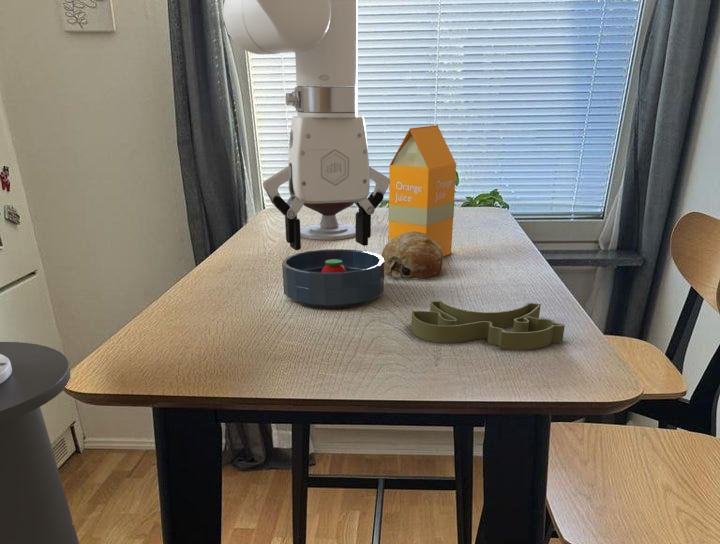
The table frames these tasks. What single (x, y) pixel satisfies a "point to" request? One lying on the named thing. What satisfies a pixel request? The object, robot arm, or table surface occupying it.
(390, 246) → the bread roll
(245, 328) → the table surface
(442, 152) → the orange juice
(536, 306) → the cookie cutter
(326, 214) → the mate gourd
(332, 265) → the red green jar
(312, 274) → the bowl
